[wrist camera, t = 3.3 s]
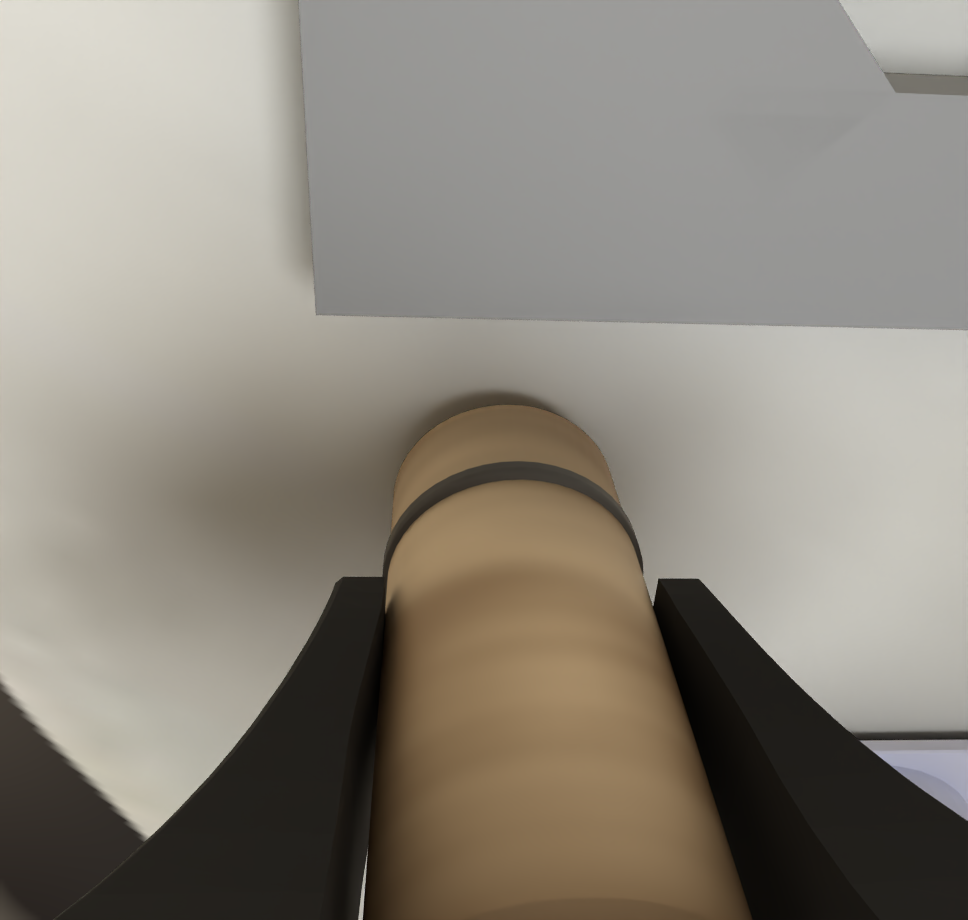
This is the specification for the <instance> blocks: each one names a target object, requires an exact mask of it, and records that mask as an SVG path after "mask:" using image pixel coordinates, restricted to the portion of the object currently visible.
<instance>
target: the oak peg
mask: <svg viewBox="0 0 968 920" xmlns="http://www.w3.org/2000/svg"><path fill="white" fill-rule="evenodd" d="M383 577H385V606H386V607H385V610H386V615H385V629H384V643H383V657H382V667H381V676H380V690H379V704H378V718H377V732H376V745H375V759H374V773H373V787H372V801H371V815H370V828H369V842H368V856H367V870H366V884H365V897H364V911H363V920H752V916H751V913H750V910H749V907H748V904H747V901H746V898H745V894H744V891H743V888H742V885H741V882H740V879H739V876H738V872H737V869H736V866H735V863H734V860H733V857H732V854H731V850H730V847H729V844H728V841H727V838H726V835H725V832H724V829H723V825H722V822H721V819H720V816H719V813H718V810H717V807H716V803H715V800H714V797H713V794H712V791H711V788H710V785H709V781H708V778H707V775H706V772H705V769H704V766H703V763H702V759H701V756H700V753H699V750H698V747H697V744H696V741H695V737H694V734H693V731H692V728H691V725H690V722H689V719H688V716H687V712H686V709H685V706H684V703H683V700H682V697H681V694H680V690H679V687H678V684H677V681H676V678H675V675H674V672H673V668H672V665H671V662H670V659H669V656H668V653H667V650H666V646H665V643H664V640H663V637H662V634H661V631H660V628H659V624H658V621H657V618H656V615H655V612H654V609H653V606H652V603H651V599H650V596H649V593H648V590H647V587H646V584H645V581H644V577H643V562H642V556H641V552H640V548H639V545H638V542H637V539H636V536H635V533H634V530H633V528H632V525H631V523H630V521H629V519H628V517H627V515H626V514H625V512H624V511H623V509H622V508H621V505H620V502H619V499H618V496H617V493H616V490H615V486H614V483H613V480H612V477H611V474H610V471H609V468H608V465H607V463H606V461H605V458H604V456H603V455H602V453H601V451H600V450H599V448H598V447H597V445H596V444H595V443H594V442H593V441H592V439H591V438H590V437H589V436H588V435H587V434H586V433H585V432H583V431H582V430H581V429H580V428H579V427H577V426H576V425H574V424H573V423H571V422H570V421H568V420H567V419H565V418H563V417H560V416H558V415H556V414H554V413H551V412H548V411H545V410H542V409H539V408H534V407H529V406H521V405H493V406H487V407H480V408H476V409H473V410H469V411H466V412H463V413H461V414H458V415H456V416H453V417H451V418H449V419H447V420H446V421H444V422H442V423H440V424H438V425H437V426H436V427H434V428H433V429H432V430H430V431H429V432H428V433H426V434H425V435H424V436H423V437H422V438H421V439H420V440H419V441H418V442H417V443H416V444H415V445H414V447H413V448H412V449H411V451H410V452H409V453H408V455H407V456H406V458H405V460H404V462H403V463H402V465H401V468H400V470H399V473H398V475H397V478H396V483H395V487H394V497H393V511H392V525H391V535H390V537H389V540H388V542H387V546H386V550H385V555H384V565H383Z"/></svg>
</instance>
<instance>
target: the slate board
mask: <svg viewBox="0 0 968 920" xmlns="http://www.w3.org/2000/svg"><path fill="white" fill-rule="evenodd" d="M298 2H299V20H300V38H301V56H302V74H303V92H304V110H305V127H306V145H307V163H308V181H309V199H310V217H311V235H312V253H313V271H314V289H315V307H316V315H337V316H380V317H423V318H466V319H509V320H553V321H596V322H639V323H682V324H725V325H768V326H811V327H854V328H897V329H940V330H968V76H946V75H922V74H899V73H883V71H882V70H881V68H880V66H879V65H878V63H877V62H876V60H875V58H874V57H873V55H872V54H871V52H870V50H869V49H868V47H867V45H866V44H865V42H864V41H863V39H862V37H861V36H860V34H859V32H858V31H857V29H856V28H855V26H854V24H853V23H852V21H851V20H850V18H849V16H848V15H847V13H846V11H845V10H844V8H843V7H842V5H841V3H840V2H839V0H298Z"/></svg>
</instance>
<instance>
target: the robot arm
mask: <svg viewBox="0 0 968 920" xmlns="http://www.w3.org/2000/svg"><path fill="white" fill-rule="evenodd" d="M653 609H654V612H655V615H656V618H657V621H658V624H659V628H660V631H661V634H662V637H663V640H664V643H665V646H666V650H667V653H668V656H669V659H670V662H671V665H672V668H673V672H674V675H675V678H676V681H677V684H678V687H679V690H680V694H681V697H682V700H683V703H684V706H685V709H686V712H687V716H688V719H689V722H690V725H691V728H692V731H693V734H694V737H695V741H696V744H697V747H698V750H699V753H700V756H701V759H702V763H703V766H704V769H705V772H706V775H707V778H708V781H709V785H710V788H711V791H712V794H713V797H714V800H715V803H716V807H717V810H718V813H719V816H720V819H721V822H722V825H723V829H724V832H725V835H726V838H727V841H728V844H729V847H730V850H731V854H732V857H733V860H734V863H735V866H736V869H737V872H738V876H739V879H740V882H741V885H742V888H743V891H744V894H745V898H746V901H747V904H748V907H749V910H750V913H751V916H752V920H968V740H858V739H857V738H856V737H854V736H853V735H852V734H851V733H850V732H849V731H847V730H846V729H845V728H844V727H843V726H842V725H841V724H839V723H838V722H837V721H836V720H835V719H834V718H833V717H832V716H831V715H830V714H828V713H827V712H826V711H825V710H824V709H823V708H822V707H821V706H820V705H819V704H818V703H816V702H815V701H814V700H813V699H812V698H811V697H810V696H809V695H808V694H807V693H806V692H805V691H804V690H803V689H802V688H801V687H800V686H799V685H798V684H796V683H795V682H794V681H793V680H792V679H791V678H790V677H789V676H788V675H787V673H786V672H785V671H784V670H783V669H782V668H781V667H780V666H779V665H778V664H777V663H776V662H775V661H774V660H773V659H772V658H771V657H770V656H769V655H768V654H767V653H766V652H765V651H764V650H763V649H762V648H761V647H760V645H759V644H758V643H757V642H756V641H755V640H754V639H753V638H752V637H751V636H750V635H749V634H748V632H747V631H746V630H745V629H744V628H743V627H742V626H741V625H740V624H739V623H738V621H737V620H736V619H735V618H734V617H733V616H732V615H731V614H730V613H729V611H728V610H727V609H726V608H725V607H724V606H723V605H722V604H721V603H720V601H719V600H718V599H717V598H716V597H715V596H714V595H713V594H712V593H711V592H710V590H709V589H708V588H707V587H706V586H705V585H704V584H703V583H702V582H701V581H700V580H699V579H658V584H657V589H656V595H655V600H654V606H653ZM385 615H386V610H385V577H342V578H341V579H340V580H339V581H337V582H336V583H335V586H334V589H333V591H332V594H331V596H330V598H329V600H328V603H327V605H326V607H325V609H324V611H323V613H322V615H321V617H320V619H319V621H318V623H317V625H316V626H315V628H314V630H313V632H312V634H311V636H310V637H309V639H308V641H307V643H306V644H305V646H304V648H303V649H302V651H301V652H300V654H299V656H298V657H297V659H296V661H295V662H294V664H293V665H292V667H291V669H290V670H289V672H288V674H287V675H286V677H285V678H284V680H283V681H282V683H281V684H280V686H279V687H278V689H277V690H276V691H275V693H274V694H273V696H272V697H271V698H270V700H269V701H268V703H267V704H266V705H265V707H264V708H263V710H262V711H261V713H260V714H259V715H258V717H257V718H256V720H255V721H254V722H253V724H252V725H251V726H250V728H249V729H248V730H247V731H246V733H245V734H244V735H243V737H242V738H241V739H240V740H239V742H238V743H237V744H236V745H235V747H234V748H233V749H232V750H231V752H230V753H229V754H228V755H227V756H226V757H225V759H224V760H223V761H222V762H221V763H220V764H219V766H218V767H217V768H216V769H215V770H214V772H213V773H212V774H211V775H210V776H209V777H208V778H207V779H206V780H205V781H204V783H203V784H202V785H201V786H200V787H199V788H198V789H197V790H196V791H195V792H194V793H193V794H192V795H191V796H190V798H189V799H188V800H187V801H186V802H185V803H184V804H183V805H182V806H181V807H180V808H179V809H178V810H177V811H176V812H175V813H174V814H173V815H172V816H171V817H170V818H169V819H168V820H167V821H166V822H165V823H164V824H163V825H162V826H161V827H160V828H159V829H158V830H157V831H156V832H155V833H154V834H153V835H152V836H151V837H150V838H149V839H147V840H146V841H145V842H144V843H143V844H142V845H141V846H140V847H139V848H137V849H136V850H135V851H134V852H133V853H132V854H131V855H130V856H129V857H128V858H127V859H125V860H124V861H123V862H122V863H121V864H120V865H119V866H118V867H117V868H115V869H114V870H113V871H112V872H111V873H110V874H109V875H108V876H107V877H106V878H104V879H103V880H102V881H101V882H100V883H99V884H97V885H96V886H95V887H94V888H93V889H91V890H90V891H89V892H88V893H87V894H85V895H84V896H83V897H82V898H80V899H79V900H78V901H76V902H75V903H74V904H73V905H72V906H70V907H69V908H68V909H66V910H65V911H64V912H63V913H61V914H60V915H58V916H57V917H56V918H55V919H53V920H358V916H359V907H360V898H361V889H362V882H363V875H364V869H365V862H366V856H367V849H368V842H369V828H370V815H371V801H372V787H373V773H374V759H375V745H376V732H377V718H378V704H379V690H380V676H381V667H382V657H383V643H384V629H385Z"/></svg>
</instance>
